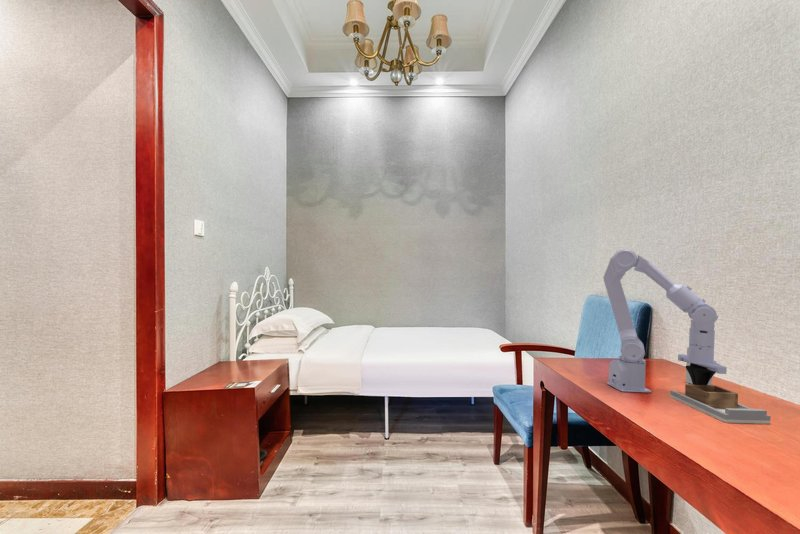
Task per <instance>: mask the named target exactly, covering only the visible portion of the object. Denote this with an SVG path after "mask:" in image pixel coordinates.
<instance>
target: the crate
mask: <svg viewBox="0 0 800 534" xmlns="http://www.w3.org/2000/svg"><path fill="white" fill-rule="evenodd" d="M684 386H685V387H684V388H685V389H684V395H685V396H688V397H690V398H692V399H694V400H697V401H699V402H701V403H704V404H706V405H708V406H710V407H713V408H738V403H739V402H738V401H739V393H737V392H734V391H732V390H729V389H727V388H724V387H721V386H718V385H714V384H712V385H692V384H685V385H684Z"/></svg>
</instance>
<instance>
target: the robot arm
mask: <svg viewBox="0 0 800 534" xmlns="http://www.w3.org/2000/svg"><path fill="white" fill-rule="evenodd" d="M632 268H633V270H634V271H636V272H640V273H642V274H645V275H646V276H647V277H649V278H650V279H651V280H652V281H654V282H655V283H656V284H657V285H658V286H660V287H661V288H662V289H663V290H665V291H666V294H665V296H666V298H667V299H668V300H669V301H671V302H672V304H674V305H675V306H676V307H678V309H680V310H681V311H682V312H683V313H685V314H686V313H687V314H688V315H687V316H688V317H689V318H690V327H689V333H688V335H689V336H688V338H689V339H688V342H689V343H688V347H689V356H688V355H687V354H683V353H682V354H680V353H679V354H677V361H679V362H683V363H690V366H686V365H685V370H686V369H687V371H688V373H689V375H690V377H691V380H692V383H693V385H708V383H709V381H710V379H711V378H712V379H713V377H714V376H715V374H719V375H727V373H728V372H727V371H728V370H727V369H728V367H727V366H725V365H721V364H719V363H717V360H714V357H715V339H716V338H715V337H716V334H715V333H716V331H715V323H716V322H717V320H718V317H719V316H718V314H717V311H716V309H715V308H713V307H712V306H710V305H709V304H708V303H707V301H706V299H704V298H700V297H699V296H698V295H697V294H696V293H695V292H693V291H692V287H690V286H689V285H687V286H686V285H684V284H683V283H675V282H673V281H672V280H671V279H670V278H669V277H668V276H667V275H666V274H664V273H663V272H662V271H661V270H659V269H658V268H657V267H656V266H655V265H654V264H653V263H652V262H651V261H649V260H647V259H646V258H644V257H643V256H641V255H640V254H638V255H637V254H636V252H635V251H633V250H632V249H629V248H622V249H619V250H618V251H616V252H615V253H614V255H612V257H611V258H610V259H609V262H608V265H607V266H606V270H605V272H604V275H603V277H602V278H603V282H604V285H605V290H606V292H607V296H608V300H609V303H610V305H611V306H610V307H611V308H612V312H613V316H614V319H615V323H616V326H617V329H618V333H619V338H620V342H621V345H620V346H621V347H620V353H621V354H620V355H619V356H618V359H613V360H611V361H610V363H609V366H608V381H607V382H606V383H607V385H609V386H611V387H613V388H614V389H616V390H619V391H620V392H623V393H625V392H627V393H628V392H629V393H652V392H653V391H652V390H650V389H648V388H646V366H647V365H646V364H647V363H646V361H647V360H646V359H644V357H645V355H646V351H645V346H644V342H642V340H640V338H639V337H638V334H637V331H636V329H635V326H634V321H633V319H632V316H631V315H632V314H631V311H630V309H629V305H628V301H627V298H626V295H625V292H624V288H623V286H622V282H621V281H622V279H623V278H624V276H625V275H626V273H627V272H628V271H630V270H631V269H632Z"/></svg>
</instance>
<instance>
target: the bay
mask: <svg viewBox="0 0 800 534" xmlns="http://www.w3.org/2000/svg"><path fill="white" fill-rule="evenodd" d="M669 395H670V396H669V397H670V399H673V400H676V401H678V402H680V403H682V404H684V405H686V406H689V407H691V408H693V409H695V410H697V411H699V412H701V413H704V414H705V415H708V416H710V417H712V418H714V419H716V420H718V421H720V422H723V423H726V424H758V425H759V424H763V425H771V415H769V414H768V411H767V410H765V409H763V408H751V407H749V406H746V405H743V404H741V403H739V402H738V408H713V407H710V406H708V405H706V404H704V403H701V402H699V401H697V400H694V399H692V398H690V397H688V396H685V394H684V393H681V392H678V391H676V390H674V389H673V390H672V389H671V390H670V392H669Z"/></svg>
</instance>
